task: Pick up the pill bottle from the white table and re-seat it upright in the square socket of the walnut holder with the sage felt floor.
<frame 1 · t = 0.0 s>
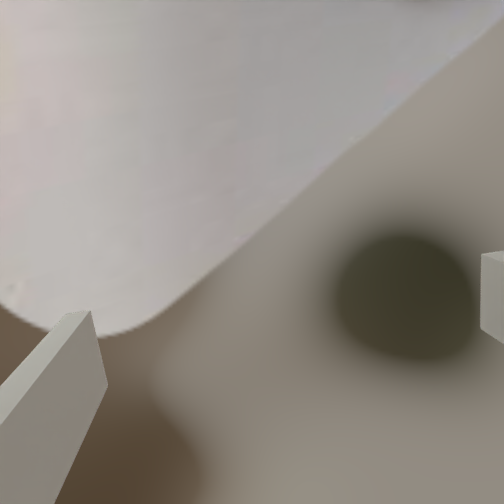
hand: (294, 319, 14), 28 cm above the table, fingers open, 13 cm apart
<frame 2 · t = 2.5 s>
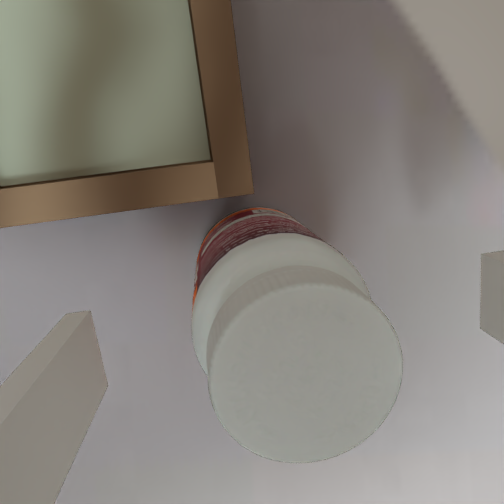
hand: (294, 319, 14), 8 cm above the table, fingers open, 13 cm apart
pill bottle: (256, 263, 22), on the table
holder: (98, 71, 19), on the table
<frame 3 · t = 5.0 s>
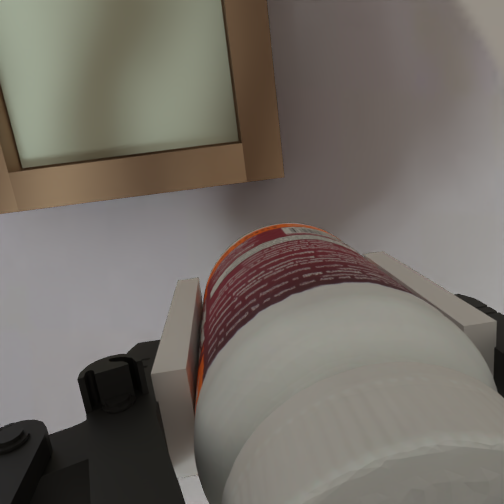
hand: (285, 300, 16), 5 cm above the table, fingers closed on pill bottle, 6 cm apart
pill bottle: (284, 297, 16), point 5 cm above the table, touching gripper
holder: (122, 48, 18), on the table
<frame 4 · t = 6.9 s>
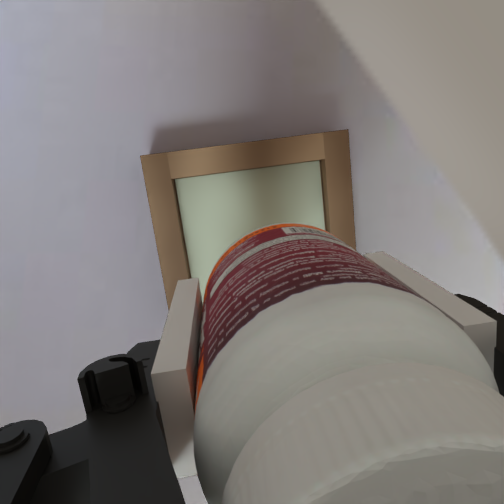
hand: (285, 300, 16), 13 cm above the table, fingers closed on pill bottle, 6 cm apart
pill bottle: (284, 297, 16), point 13 cm above the table, touching gripper
holder: (253, 233, 28), on the table
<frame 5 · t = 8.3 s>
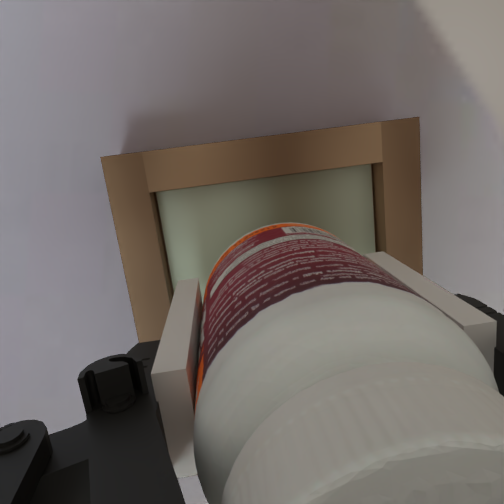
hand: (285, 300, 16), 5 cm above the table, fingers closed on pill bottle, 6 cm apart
pill bottle: (284, 296, 16), point 4 cm above the table, touching gripper
holder: (270, 266, 20), on the table
when the fingers open (4 cm above the table, at t = 9.0 s): pill bottle drops 2 cm, resting on holder.
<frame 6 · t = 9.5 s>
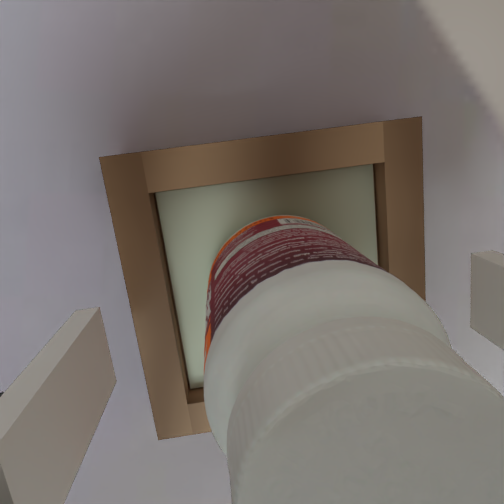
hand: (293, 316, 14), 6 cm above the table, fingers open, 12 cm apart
pill bottle: (279, 282, 18), point 2 cm above the table, touching holder
holder: (270, 267, 20), on the table
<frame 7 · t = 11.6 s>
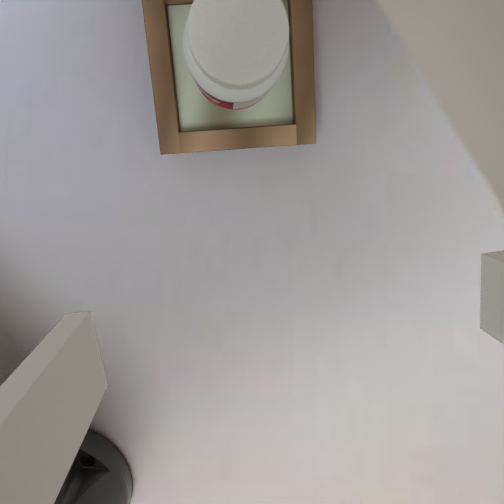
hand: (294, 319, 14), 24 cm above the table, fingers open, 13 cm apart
pill bottle: (234, 68, 32), point 2 cm above the table, touching holder
holder: (232, 71, 34), on the table
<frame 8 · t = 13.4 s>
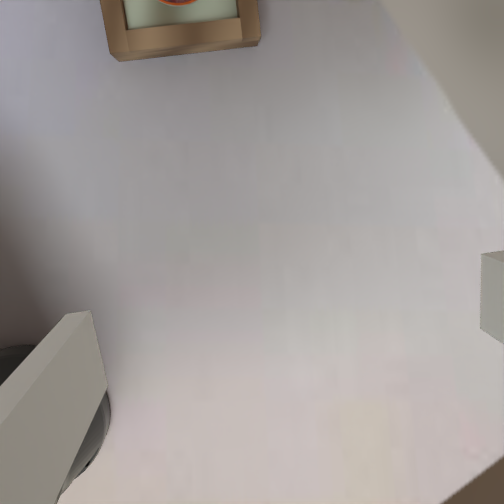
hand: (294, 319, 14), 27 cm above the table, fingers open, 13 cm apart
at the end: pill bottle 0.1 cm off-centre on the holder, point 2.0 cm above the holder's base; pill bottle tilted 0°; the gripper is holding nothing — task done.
